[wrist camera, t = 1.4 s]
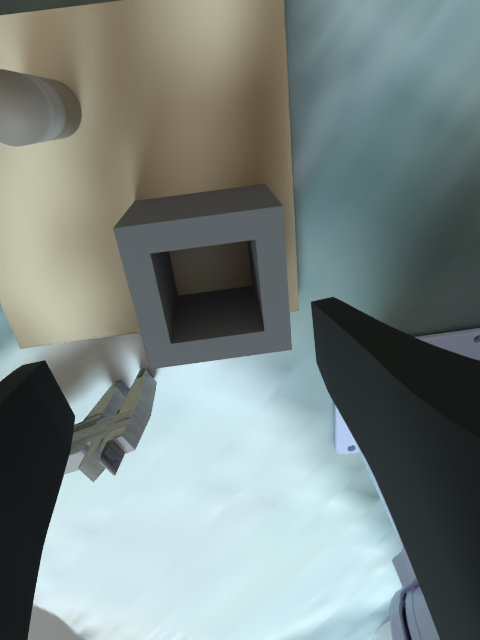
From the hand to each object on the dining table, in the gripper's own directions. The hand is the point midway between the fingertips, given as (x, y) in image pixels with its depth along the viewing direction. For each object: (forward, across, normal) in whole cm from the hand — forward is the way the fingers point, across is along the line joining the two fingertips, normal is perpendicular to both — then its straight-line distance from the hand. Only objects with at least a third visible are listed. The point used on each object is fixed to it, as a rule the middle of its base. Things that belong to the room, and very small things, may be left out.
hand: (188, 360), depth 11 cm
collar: (+8, -1, 0) cm, 9 cm away
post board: (+10, +2, -3) cm, 10 cm away
